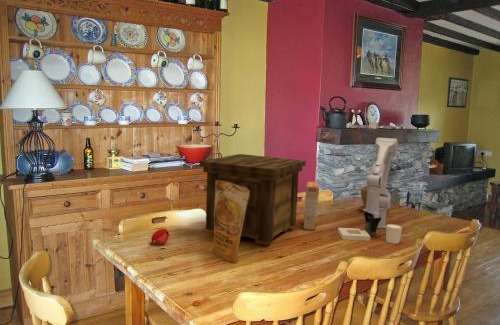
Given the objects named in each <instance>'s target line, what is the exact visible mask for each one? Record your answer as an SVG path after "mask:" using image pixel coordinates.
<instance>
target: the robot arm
mask: <svg viewBox="0 0 500 325" xmlns="http://www.w3.org/2000/svg"><path fill="white" fill-rule="evenodd" d="M398 141H399V140H398V138H395V137H394V138H392V137H391V138H390V137H388V138H387V137H380V136H379V137H376V139H375V143H374V144H375V146H374V147H375V152H376V154H377V156H376V160H375V162H373V163H372V167H371V171H370V173H369V174H368V175H367V177H366V186H367V203H366V209H363V210H362V213H363V216H364V220H365V223H366V222H370V231H371V232H376V233H377V229H386V225H387V224H386V221H387V220H386V218H387V213H386V211H387V209H389V210H390V208H391V205H392V198H391V197H392V195H391V194H392V193H391V192H389V191H388V189H387V185H388V181H389V180H388V179H389V174H390V167H391V161H392V158H394V157H396V155H397V152H398V146H399V142H398Z"/></svg>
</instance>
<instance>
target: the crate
mask: <svg viewBox="0 0 500 325" xmlns="http://www.w3.org/2000/svg"><path fill="white" fill-rule="evenodd" d="M306 163H307V160H301V159H294V158H293V159H292V158H282V157H272V156H262V155H252V154H244V153H238V154H232V155H227V156H222V157H216V158H210V159H204V160H200V161H199V167H202V168H203V170H202V172H203V173H206V174H207V175H206V206H205V207H206V208H205V209H206V211H205V230H207V231H212V234H213V235H214V208H215V181H217V180H222V181H226V182H230V183H233V184H236V185H240V186H244V187H247V188H248V189H249V191H250V197H249V201H248V204H247V208H246V213H245V219H244V222H243V227H242V232H241V236H240V237H246V238H249V239H251V238H252V239H255V242H254V243H255V244H257V245H264V246H267V245H268V244H269V243H271V241H273V240H274V238H275V236H277V235H279V234H280V233H281V232H283V233H286V232H288V231H290V227H291V228H292V227H294V226H296V225H297V209H298V208H297V207H298V193H299V192H298V189H299V174H300V173H299V172H303V167H305V166H306V165H307V164H306Z"/></svg>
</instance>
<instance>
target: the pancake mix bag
mask: <svg viewBox="0 0 500 325" xmlns="http://www.w3.org/2000/svg"><path fill="white" fill-rule="evenodd" d="M249 197H250V191H249V189H248V188H247V187H244V186H240V185H236V184H233V183H230V182H226V181H222V180H217V181H215V208H214V234H213V240H212V241H213V242H212V253H213V254H214V255H216V256H218V257H219V258H221V259H223V260H224V261H225V262H226V261H227V262H228V263H237V264H238V262H239V258H238V250H239V247H240V242H241V237H242V236H241V232H242V227H243V222H244V219H245V213H246V208H247V204H248V201H249Z"/></svg>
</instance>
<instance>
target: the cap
mask: <svg viewBox="0 0 500 325" xmlns="http://www.w3.org/2000/svg"><path fill="white" fill-rule="evenodd" d="M169 237H170V232H169V230H168V229H167V228H160V229H158V230H157V231H155V232H154V233H153V234H152V236H151V237H150V238H151V241H150V245H152V244H153V243H154V242H156V243H158V244H161V245H162V246H165V245H166V242H167V241H168V238H169Z"/></svg>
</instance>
